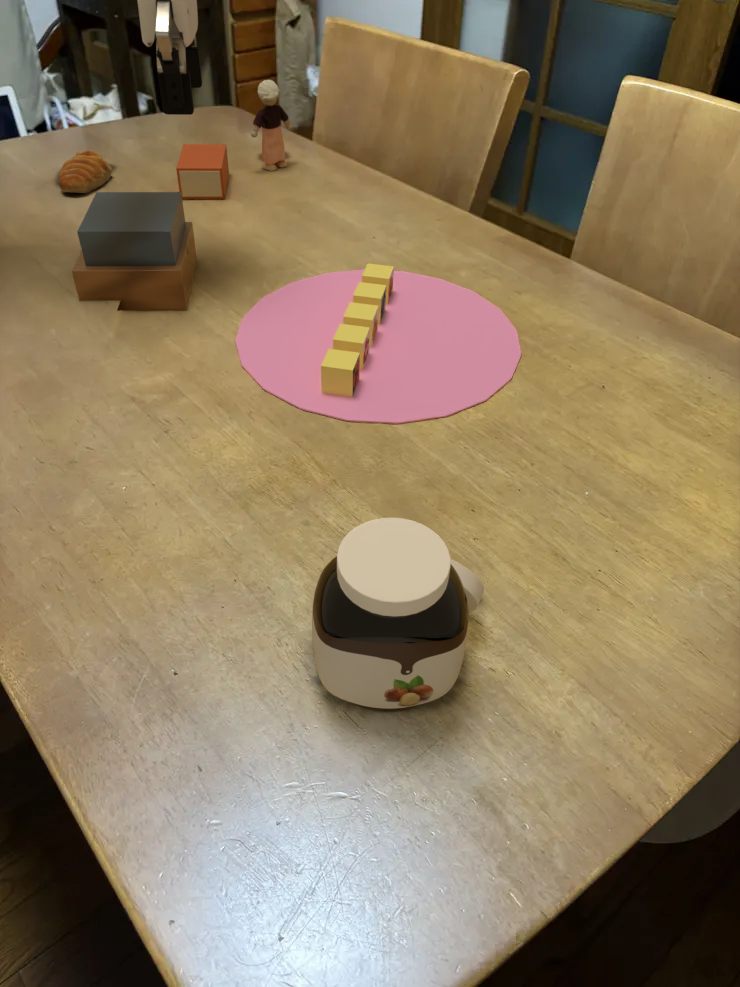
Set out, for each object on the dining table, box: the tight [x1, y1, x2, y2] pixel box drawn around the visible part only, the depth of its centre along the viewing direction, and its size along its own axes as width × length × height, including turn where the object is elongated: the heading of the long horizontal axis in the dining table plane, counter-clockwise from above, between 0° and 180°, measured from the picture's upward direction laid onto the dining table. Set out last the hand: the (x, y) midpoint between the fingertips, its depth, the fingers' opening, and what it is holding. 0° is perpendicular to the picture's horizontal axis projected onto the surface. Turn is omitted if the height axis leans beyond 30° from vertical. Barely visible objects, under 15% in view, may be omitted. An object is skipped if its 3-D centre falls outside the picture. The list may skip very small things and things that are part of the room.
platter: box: [234, 262, 522, 425], centre depth 84 cm, size 32×32×3 cm
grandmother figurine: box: [250, 79, 293, 172], centre depth 117 cm, size 8×4×13 cm, turn 145°
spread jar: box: [311, 517, 485, 714], centre depth 50 cm, size 12×11×12 cm
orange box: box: [175, 143, 230, 200], centre depth 113 cm, size 6×10×4 cm, turn 4°
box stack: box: [71, 191, 198, 311], centre depth 89 cm, size 12×13×9 cm
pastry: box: [58, 149, 113, 194], centre depth 113 cm, size 9×7×4 cm
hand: (183, 99), depth 83 cm, fingers open, 9 cm apart
